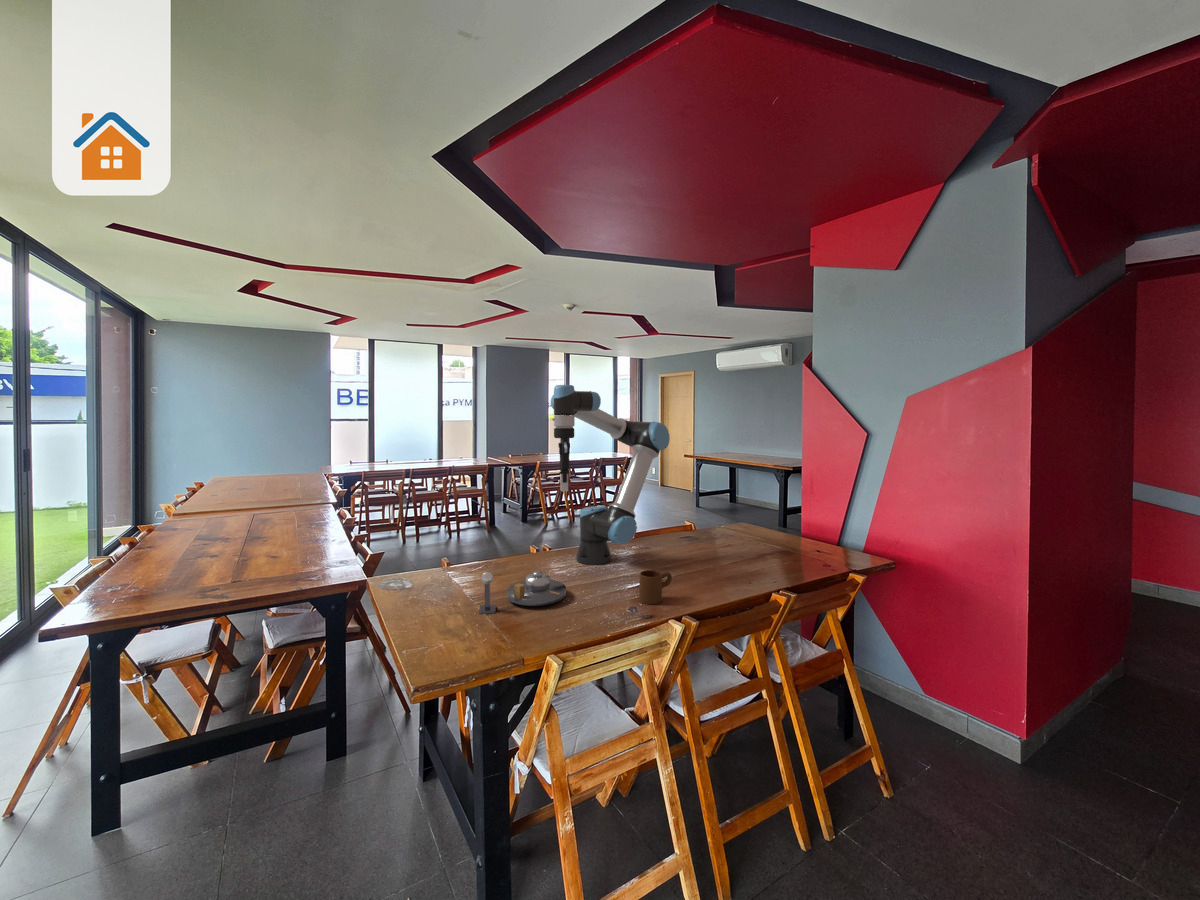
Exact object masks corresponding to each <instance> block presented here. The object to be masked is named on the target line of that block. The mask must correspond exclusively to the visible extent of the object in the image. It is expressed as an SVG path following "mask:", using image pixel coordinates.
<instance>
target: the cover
mask: <svg viewBox="0 0 1200 900" xmlns="http://www.w3.org/2000/svg"><path fill="white" fill-rule="evenodd" d="M549 579H550V575H549V574H548V573H545V572H543V571H542V570H534V571H533V572H532V573H528V574H527V575H525V580H526V590H528V591H531V592H542V591H546V590H548V589H549Z"/></svg>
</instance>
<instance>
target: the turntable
mask: <svg viewBox="0 0 1200 900" xmlns="http://www.w3.org/2000/svg"><path fill="white" fill-rule="evenodd" d="M566 596H567V586H566V585H565V584H564V583H563V582H561V581H559V580H555V579H550V578H549V589H548V590H546V591H542V592H531V591H528V590H526V579H524V580H520V581H517V582H514V583H512V584H510V585H509V586H508V588H507V590H506V598H507V600H508V601H509V602H511V603H513V604H515V605H520V606H527V607H538V606H539V607H540V606H546V605H551V604H555V603H558V602H561V600H563V599H564V598H565V597H566Z"/></svg>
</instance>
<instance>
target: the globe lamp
mask: <svg viewBox="0 0 1200 900" xmlns="http://www.w3.org/2000/svg"><path fill="white" fill-rule="evenodd" d="M493 575H494V574H492V572H490V571H484V572H483V573H482V574H481V576H480V580H481V582H482V583H483V585H484V604H482V605H479V610H478V615H483V614H484V615H485V614H488V615H489V614H496V610H497V605H496V604H491V583H492V582H493V579H494V576H493Z"/></svg>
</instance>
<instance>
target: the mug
mask: <svg viewBox="0 0 1200 900" xmlns="http://www.w3.org/2000/svg"><path fill="white" fill-rule="evenodd" d="M664 578H666V580H665V581H663V579H664ZM672 578H673V577H672V574H671V572H669V571H664V572H662V573H661V572H660V571H658V570H651V569H650V570H649V569H648V570H642V571H641V572H640V573H639V584H638V585H639V586H638V587H639V601H640V602H641V603H642V604H644V605H658V604H660V603H661V602H662V600H663V589H664V588H666V587H668V586H669V585H670V584H671V583H672V580H673V579H672Z"/></svg>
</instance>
